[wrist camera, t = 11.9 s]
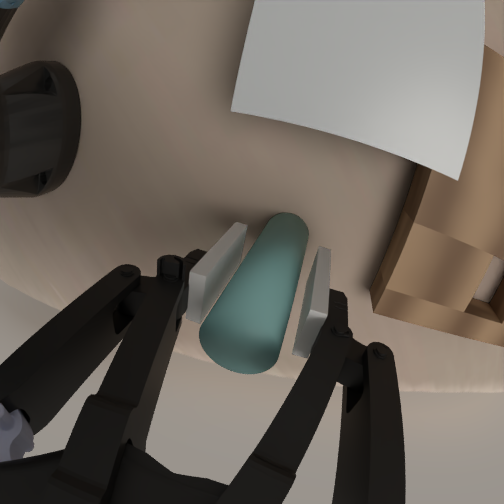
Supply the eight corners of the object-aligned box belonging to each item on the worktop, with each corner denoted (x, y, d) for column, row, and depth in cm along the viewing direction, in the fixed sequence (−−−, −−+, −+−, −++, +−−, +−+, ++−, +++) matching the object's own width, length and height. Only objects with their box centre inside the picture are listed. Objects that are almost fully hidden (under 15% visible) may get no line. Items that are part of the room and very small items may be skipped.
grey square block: (269, 116, 18) (230, 111, 11) (296, -8, 13) (274, -69, 6) (411, 158, 17) (457, 180, 10) (436, 32, 12) (484, -6, 5)
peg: (261, 246, 22) (196, 358, 12) (270, 207, 21) (203, 300, 10) (301, 258, 22) (268, 382, 11) (313, 220, 20) (289, 329, 10)
